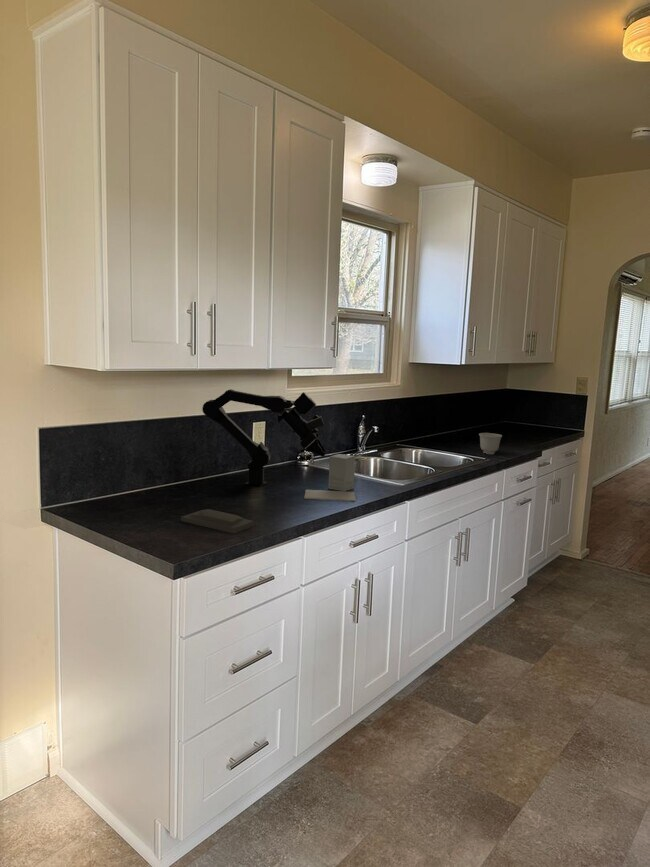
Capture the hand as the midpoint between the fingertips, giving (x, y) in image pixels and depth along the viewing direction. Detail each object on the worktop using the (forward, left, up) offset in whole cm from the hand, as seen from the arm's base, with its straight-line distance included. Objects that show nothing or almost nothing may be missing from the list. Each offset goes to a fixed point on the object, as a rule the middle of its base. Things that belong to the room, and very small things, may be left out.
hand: (324, 453), depth 246 cm
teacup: (+123, -42, -13) cm, 130 cm away
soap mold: (-60, +9, -14) cm, 63 cm away
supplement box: (+3, -6, -13) cm, 15 cm away
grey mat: (-11, -7, -13) cm, 18 cm away
